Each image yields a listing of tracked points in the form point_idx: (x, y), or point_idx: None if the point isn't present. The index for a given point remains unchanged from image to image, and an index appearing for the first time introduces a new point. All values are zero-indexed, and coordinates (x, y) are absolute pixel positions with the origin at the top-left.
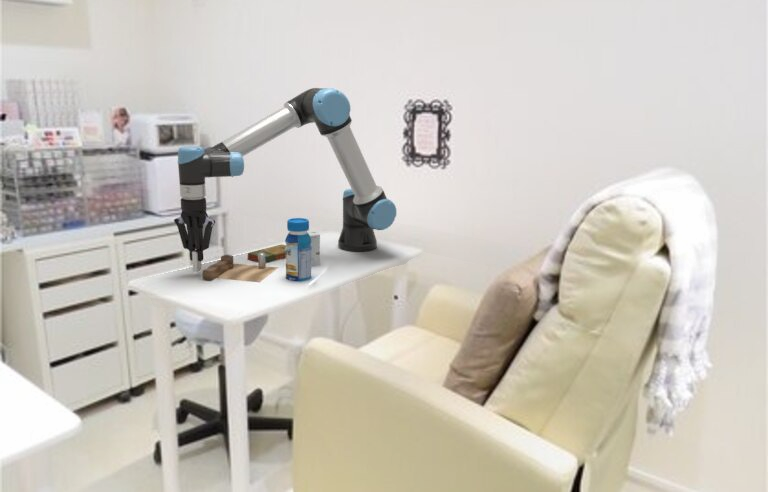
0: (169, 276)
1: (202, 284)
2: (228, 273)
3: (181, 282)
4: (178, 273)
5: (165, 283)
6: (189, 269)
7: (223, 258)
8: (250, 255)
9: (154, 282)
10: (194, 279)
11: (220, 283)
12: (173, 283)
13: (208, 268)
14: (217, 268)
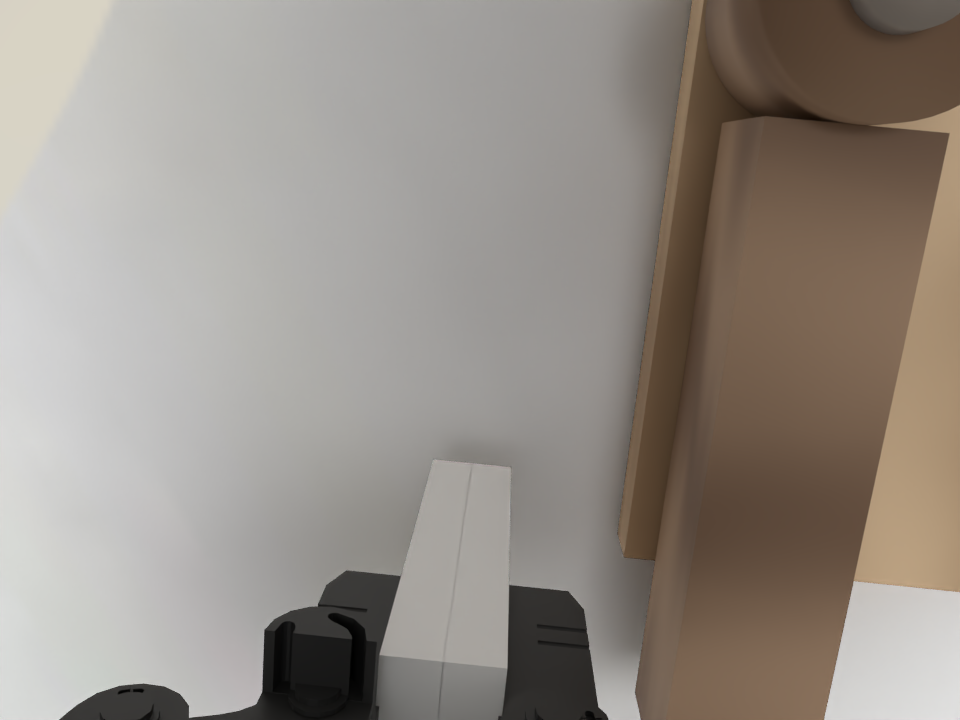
0: (43, 442)
1: (623, 671)
2: (915, 334)
3: None
4: (87, 291)
5: None
6: (141, 60)
7: (853, 119)
8: None
9: (4, 689)
10: None
11: None
12: (247, 689)
13: (711, 665)
14: (845, 583)
